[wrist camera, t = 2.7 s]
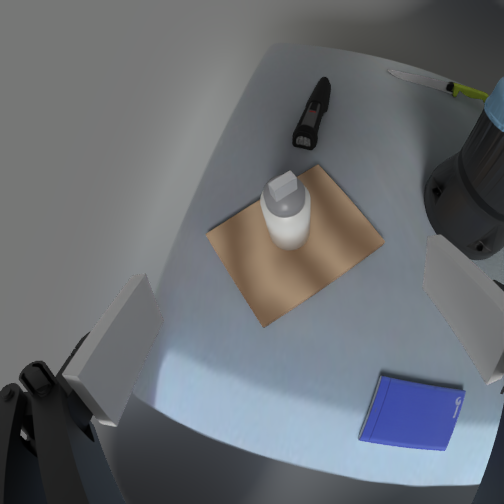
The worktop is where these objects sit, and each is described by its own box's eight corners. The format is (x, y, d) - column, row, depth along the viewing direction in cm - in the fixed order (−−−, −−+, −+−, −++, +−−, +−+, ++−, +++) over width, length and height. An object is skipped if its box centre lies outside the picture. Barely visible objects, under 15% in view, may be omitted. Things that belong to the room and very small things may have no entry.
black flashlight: (335, 91, 45) (336, 78, 42) (314, 152, 41) (315, 138, 38) (315, 87, 46) (315, 74, 43) (290, 146, 42) (289, 132, 39)
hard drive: (466, 390, 26) (382, 375, 29) (445, 451, 23) (359, 441, 27) (461, 389, 27) (379, 375, 30) (440, 448, 25) (357, 437, 28)
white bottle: (294, 206, 37) (289, 150, 27) (317, 235, 36) (322, 185, 25) (261, 227, 37) (244, 176, 27) (284, 258, 35) (274, 215, 25)
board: (317, 168, 40) (317, 164, 39) (383, 244, 35) (385, 241, 34) (207, 237, 39) (205, 234, 38) (263, 327, 34) (262, 326, 33)
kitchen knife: (386, 82, 46) (387, 70, 43) (386, 78, 46) (387, 67, 43) (487, 107, 38) (491, 97, 36) (485, 103, 39) (489, 93, 36)
